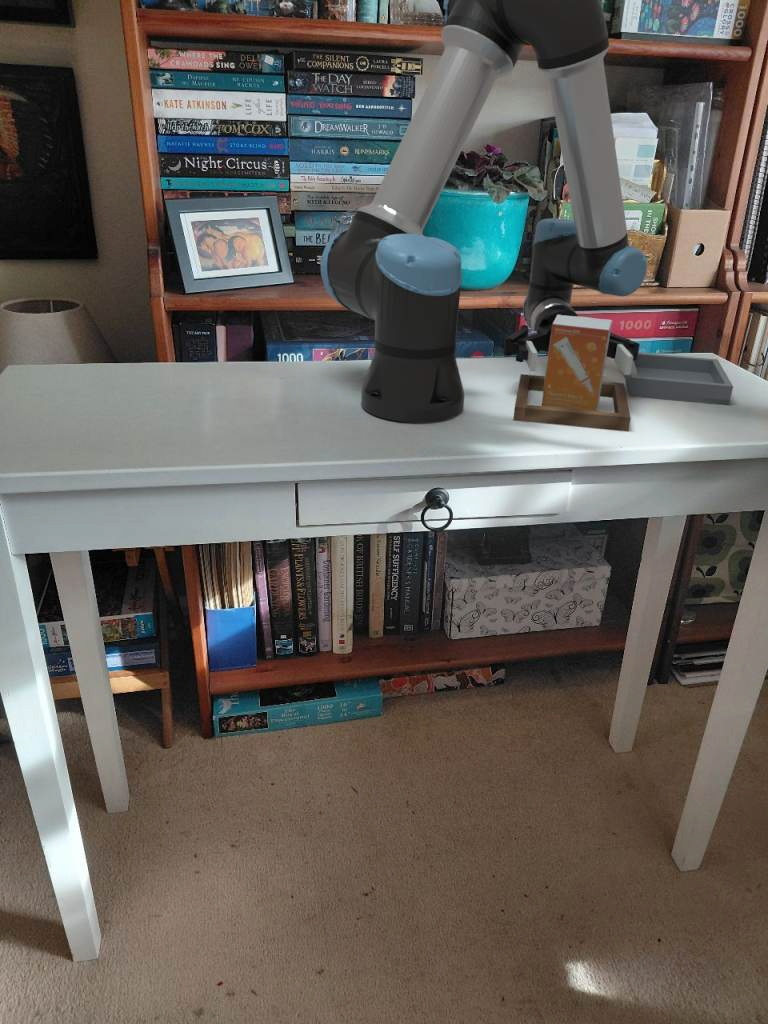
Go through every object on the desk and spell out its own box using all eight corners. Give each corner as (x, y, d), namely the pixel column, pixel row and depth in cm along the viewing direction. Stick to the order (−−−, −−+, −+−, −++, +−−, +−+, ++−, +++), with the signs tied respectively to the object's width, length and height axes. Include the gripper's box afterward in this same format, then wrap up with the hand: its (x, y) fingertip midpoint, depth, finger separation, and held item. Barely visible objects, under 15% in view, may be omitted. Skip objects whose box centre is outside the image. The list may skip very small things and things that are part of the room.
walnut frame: (513, 420, 117) (514, 406, 117) (519, 386, 132) (520, 374, 131) (628, 431, 115) (630, 417, 114) (621, 395, 129) (623, 383, 128)
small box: (540, 410, 122) (551, 322, 116) (545, 397, 127) (556, 313, 121) (596, 418, 119) (610, 329, 114) (599, 404, 125) (612, 318, 119)
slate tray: (628, 396, 129) (631, 377, 127) (623, 368, 142) (625, 351, 141) (728, 405, 126) (733, 386, 125) (713, 376, 139) (717, 359, 138)
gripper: (628, 351, 138) (663, 392, 119) (479, 346, 138) (491, 386, 119) (635, 306, 135) (673, 341, 116) (483, 301, 135) (496, 334, 116)
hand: (581, 364), depth 117 cm, fingers open, 13 cm apart
